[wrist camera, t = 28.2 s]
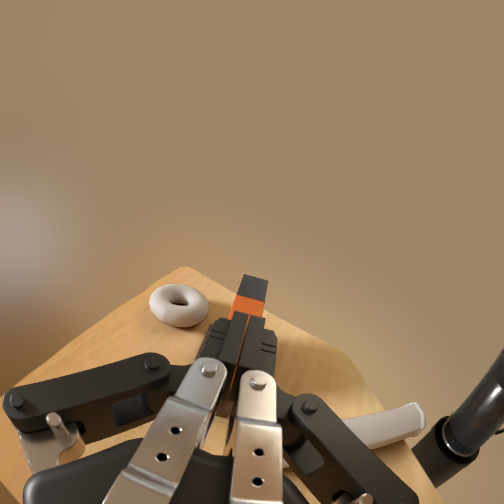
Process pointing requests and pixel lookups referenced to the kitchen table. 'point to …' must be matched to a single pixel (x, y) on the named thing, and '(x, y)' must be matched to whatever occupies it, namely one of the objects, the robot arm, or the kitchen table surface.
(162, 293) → the donut
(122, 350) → the kitchen table surface
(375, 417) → the tube
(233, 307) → the orange rectangular block
